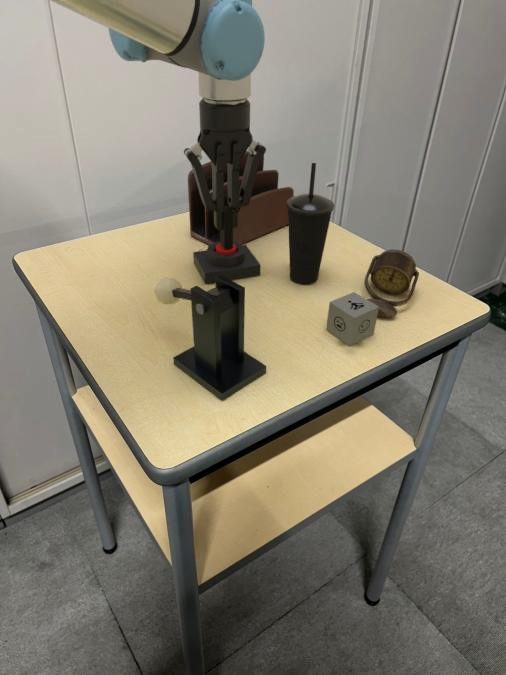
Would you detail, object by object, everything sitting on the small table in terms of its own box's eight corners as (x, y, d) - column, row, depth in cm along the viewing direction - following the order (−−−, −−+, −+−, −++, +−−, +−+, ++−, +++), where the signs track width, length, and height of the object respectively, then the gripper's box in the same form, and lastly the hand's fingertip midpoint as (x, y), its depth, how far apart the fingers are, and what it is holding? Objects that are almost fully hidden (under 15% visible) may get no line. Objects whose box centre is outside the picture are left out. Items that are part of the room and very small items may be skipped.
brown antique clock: (443, 267, 83) (393, 235, 88) (405, 290, 75) (351, 253, 79) (423, 301, 88) (376, 269, 92) (384, 326, 80) (335, 290, 84)
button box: (205, 284, 88) (204, 263, 86) (193, 263, 94) (192, 242, 92) (260, 275, 91) (260, 255, 88) (245, 255, 97) (245, 235, 94)
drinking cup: (283, 265, 94) (290, 154, 82) (326, 269, 93) (339, 157, 81) (279, 287, 88) (286, 170, 76) (324, 291, 87) (339, 173, 75)
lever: (153, 306, 73) (146, 281, 71) (175, 297, 75) (168, 272, 73) (217, 321, 62) (209, 292, 61) (239, 310, 65) (233, 281, 63)
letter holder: (189, 236, 103) (185, 165, 94) (259, 209, 114) (261, 144, 106) (223, 253, 97) (221, 179, 89) (293, 223, 109) (298, 156, 100)
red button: (219, 261, 89) (219, 252, 88) (213, 252, 92) (213, 243, 91) (239, 258, 90) (239, 249, 89) (232, 249, 93) (232, 240, 92)
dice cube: (349, 346, 75) (354, 318, 72) (326, 329, 78) (329, 302, 75) (373, 334, 77) (378, 306, 74) (349, 319, 81) (353, 291, 78)
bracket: (173, 364, 71) (166, 283, 63) (217, 340, 76) (215, 262, 68) (222, 401, 65) (220, 317, 58) (266, 372, 70) (270, 292, 62)
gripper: (257, 91, 80) (254, 231, 94) (175, 95, 77) (184, 240, 91) (275, 102, 75) (269, 249, 89) (187, 107, 71) (195, 260, 85)
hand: (226, 245), depth 90 cm, fingers closed
